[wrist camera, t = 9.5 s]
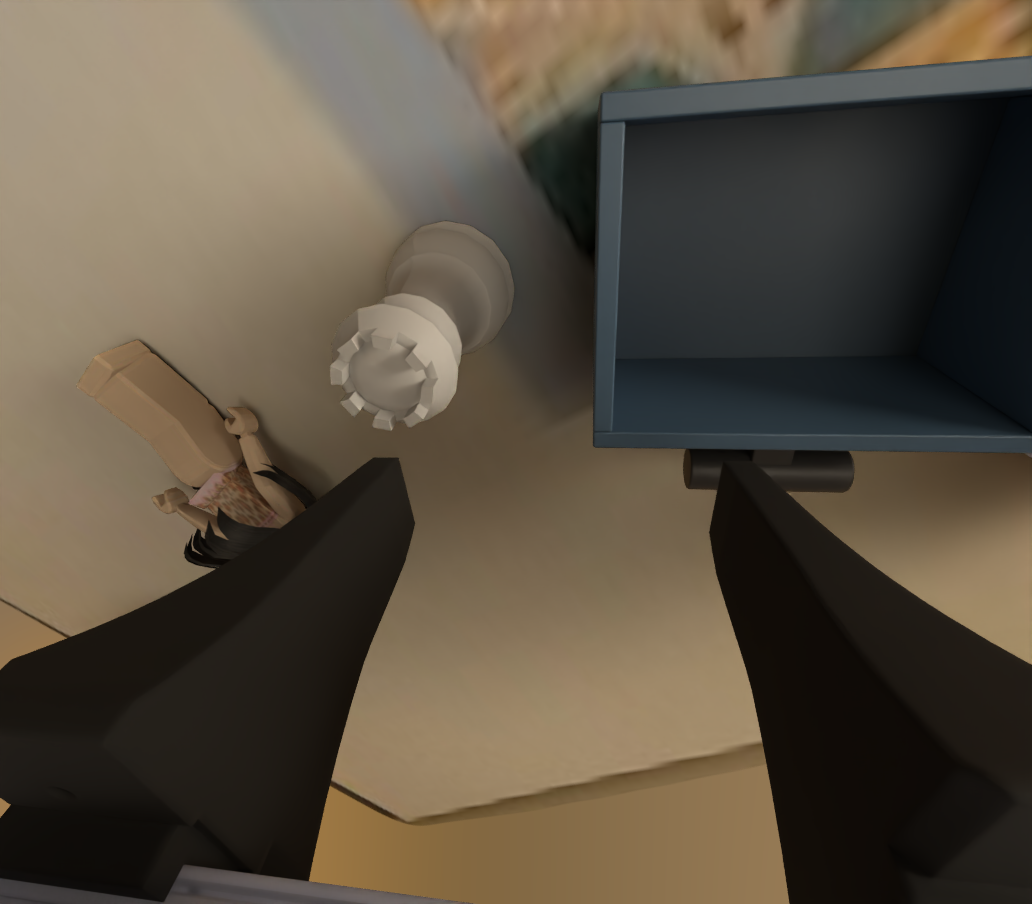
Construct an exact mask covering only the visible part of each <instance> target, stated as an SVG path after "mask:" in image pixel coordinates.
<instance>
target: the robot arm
mask: <svg viewBox="0 0 1032 904" xmlns="http://www.w3.org/2000/svg"><path fill="white" fill-rule="evenodd" d="M1025 454H1026V455H1028V456H1029V457H1030V458H1032V453H1025ZM414 526H415V521H414V517H413V513H412V509H411V505H410V501H409V497H408V493H407V489H406V485H405V481H404V477H403V473H402V469H401V465H400V461H399V458H372V459H371V460H370V461H368V462H367V463H365V464H364V465H363V466H361V467H360V468H359V469H357V470H356V471H355V472H354V473H352V474H351V475H350V476H348V477H347V478H346V479H345V480H343V481H342V482H341V483H340V484H338V485H337V486H336V487H335V488H333V489H332V490H331V491H329V492H328V493H327V494H326V495H324V496H323V497H322V498H320V499H319V500H318V501H317V502H315V503H314V504H313V505H311V506H310V507H309V508H307V509H306V510H305V511H303V512H302V513H301V514H299V515H298V516H296V517H295V518H294V519H292V520H291V521H289V522H288V523H287V524H285V525H284V526H282V527H281V528H280V529H278V530H277V531H275V532H274V533H273V534H271V535H270V536H268V537H267V538H265V539H264V540H262V541H261V542H259V543H258V544H256V545H255V546H253V547H252V548H250V549H249V550H247V551H245V552H244V553H242V554H240V555H239V556H237V557H235V558H234V559H232V560H230V561H229V562H227V563H225V564H224V565H222V566H220V567H219V568H217V569H215V570H213V571H211V572H210V573H208V574H206V575H204V576H202V577H200V578H198V579H196V580H194V581H192V582H191V583H189V584H187V585H185V586H183V587H181V588H179V589H177V590H175V591H173V592H172V593H170V594H168V595H166V596H164V597H162V598H160V599H158V600H155V601H153V602H151V603H149V604H147V605H145V606H143V607H140V608H138V609H136V610H134V611H132V612H130V613H127V614H125V615H123V616H120V617H118V618H116V619H114V620H111V621H109V622H107V623H104V624H102V625H100V626H97V627H95V628H92V629H90V630H88V631H85V632H83V633H80V634H77V635H75V636H72V637H70V638H67V639H64V640H62V641H59V642H57V643H54V644H52V645H49V646H46V647H44V648H41V649H38V650H36V651H33V652H31V653H28V654H25V655H22V656H19V657H17V658H14V659H12V660H11V661H9V662H8V663H7V664H6V665H5V666H4V667H3V668H2V669H1V670H0V798H2V799H3V800H5V801H6V802H7V803H9V804H11V805H10V807H9V808H8V809H7V810H6V812H5V813H4V814H3V815H2V816H1V818H0V904H473V903H465V902H458V901H450V900H443V899H436V898H428V897H421V896H413V895H406V894H399V893H391V892H384V891H376V890H369V889H361V888H353V887H347V886H339V885H332V884H324V883H317V882H310V881H309V877H310V872H311V867H312V862H313V857H314V852H315V848H316V843H317V839H318V834H319V830H320V825H321V820H322V816H323V811H324V807H325V802H326V798H327V794H328V790H329V786H330V782H331V778H332V774H333V770H334V766H335V762H336V758H337V754H338V750H339V747H340V743H341V739H342V736H343V732H344V728H345V725H346V721H347V718H348V714H349V710H350V707H351V703H352V700H353V697H354V693H355V690H356V687H357V683H358V680H359V677H360V674H361V670H362V667H363V664H364V661H365V658H366V656H367V653H368V650H369V648H370V645H371V642H372V640H373V638H374V635H375V633H376V631H377V628H378V626H379V623H380V621H381V619H382V616H383V614H384V611H385V609H386V607H387V604H388V602H389V600H390V597H391V595H392V592H393V590H394V588H395V585H396V583H397V580H398V578H399V575H400V573H401V571H402V568H403V565H404V563H405V560H406V556H407V553H408V549H409V546H410V542H411V538H412V534H413V530H414ZM709 534H710V540H711V546H712V553H713V558H714V564H715V569H716V574H717V578H718V581H719V584H720V588H721V591H722V594H723V597H724V601H725V604H726V607H727V610H728V613H729V616H730V620H731V623H732V626H733V629H734V632H735V635H736V639H737V642H738V645H739V648H740V651H741V654H742V658H743V661H744V664H745V667H746V670H747V674H748V678H749V682H750V685H751V689H752V693H753V698H754V703H755V708H756V713H757V717H758V722H759V727H760V732H761V737H762V742H763V747H764V753H765V758H766V763H767V769H768V774H769V779H770V784H771V790H772V796H773V802H774V808H775V813H776V820H777V825H778V831H779V837H780V843H781V849H782V855H783V862H784V869H785V876H786V882H787V888H788V896H789V903H790V904H1032V665H1031V664H1029V663H1027V662H1025V661H1024V660H1022V659H1020V658H1018V657H1016V656H1015V655H1013V654H1011V653H1009V652H1007V651H1006V650H1004V649H1002V648H1000V647H998V646H997V645H995V644H993V643H991V642H990V641H988V640H986V639H985V638H983V637H981V636H980V635H978V634H976V633H975V632H973V631H971V630H970V629H968V628H966V627H965V626H963V625H961V624H960V623H958V622H956V621H955V620H953V619H951V618H950V617H948V616H946V615H945V614H943V613H942V612H940V611H938V610H937V609H935V608H934V607H932V606H931V605H929V604H928V603H926V602H924V601H923V600H921V599H920V598H919V597H917V596H916V595H914V594H913V593H911V592H910V591H908V590H907V589H905V588H904V587H903V586H901V585H900V584H898V583H897V582H895V581H894V580H892V579H891V578H889V577H888V576H887V575H885V574H884V573H882V572H881V571H880V570H878V569H877V568H876V567H874V566H873V565H872V564H870V563H869V562H868V561H866V560H865V559H864V558H863V557H861V556H860V555H859V554H858V553H856V552H855V551H854V550H853V549H851V548H850V547H849V546H847V545H846V544H845V543H844V542H842V541H841V540H840V539H839V538H838V537H836V536H835V535H834V534H833V533H832V532H830V531H829V530H828V529H827V528H826V527H824V526H823V525H822V524H821V523H820V522H819V521H818V520H816V519H815V518H814V517H813V516H812V515H811V514H810V513H809V512H807V511H806V510H805V509H804V508H803V507H802V506H801V505H800V504H799V503H798V502H796V501H795V500H794V499H793V498H792V497H791V496H790V495H789V494H788V493H787V492H786V491H785V490H784V489H782V488H781V487H780V486H779V485H778V484H777V483H776V482H775V481H774V480H773V479H772V478H771V477H770V476H769V475H768V474H767V473H766V472H764V471H763V470H762V469H761V468H760V467H759V466H758V465H757V464H756V463H755V462H753V461H723V464H722V469H721V474H720V479H719V485H718V490H717V495H716V500H715V505H714V510H713V515H712V520H711V525H710V531H709Z"/></svg>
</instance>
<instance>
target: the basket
mask: <svg viewBox="0 0 1032 904" xmlns="http://www.w3.org/2000/svg"><path fill="white" fill-rule="evenodd" d="M593 446H594V447H595V448H671V449H686V451H685V454H684V462H683V475H684V482H685V486H686V488H688V489H709V490H718V485H719V479H720V474H721V469H722V464H723V461H753V462H755V463H756V464H757V465H758V466H759V467H760V468H761V469H762V470H763V471H764V472H766V473H767V474H768V475H769V476H770V477H771V478H772V479H773V480H774V481H775V482H776V483H777V484H778V485H779V486H780V487H781V488H782V489H784V490H785V491H792V492H834V493H843V492H846V491H848V490H849V489H850V487H851V485H852V483H853V480H854V462H853V458H852V456H851V454H850V453H849V451H899V452H975V453H1032V56H1023V57H1011V58H1000V59H988V60H976V61H964V62H952V63H940V64H928V65H917V66H905V67H893V68H881V69H869V70H857V71H845V72H834V73H822V74H810V75H798V76H786V77H774V78H762V79H751V80H739V81H727V82H715V83H703V84H691V85H679V86H668V87H656V88H644V89H632V90H620V91H608V92H603V93H601V95H600V100H599V106H598V118H597V171H596V224H595V278H594V331H593Z"/></svg>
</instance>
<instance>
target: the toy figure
mask: <svg viewBox="0 0 1032 904" xmlns="http://www.w3.org/2000/svg"><path fill="white" fill-rule="evenodd" d="M76 387H78V388H79V389H81V390H82V391H83V392H85V393H86V394H87V395H89V396H91V397H94V398H95V401H97V402H98V403H99V404H101V405H102V406H103V407H104V408H106V409H107V410H108V411H110V412H111V413H112V414H114V415H115V416H116V417H117V418H119V419H120V420H121V421H123V422H124V423H125V424H127V425H128V426H129V427H130V428H132V429H133V430H134V431H136V432H137V433H138V434H140V435H141V436H142V437H143V438H145V439H146V440H147V441H149V442H150V444H151V445H152V446H153V448H154V449H155V450H156V451H157V453H158V454H159V455H160V457H161V458H162V459H163V461H164V462H165V463H166V465H167V466H168V467H169V469H170V470H171V471H172V473H173V474H174V475H175V476H176V477H177V478H178V479H179V480H181V481H182V482H184V483H185V484H187V485H190V486H192V487H193V489H194V490H198V491H197V492H196V494H195V495H194V496H193V497H192V499H191V500H190V501H189V499H188V497H187V496H186V494H185V493H184V492H183V491H182V490H180V489H178V488H177V487H174V488H171V489H168V490H165V491H164V494H161V495H157V496H154V497H152V500H153V503H154V504H155V505H156V506H157V507H158V509H159V510H161V511H162V512H164V513H166V514H171V513H174V512H177V513H178V514H179V515H180V516H182V517H183V518H184V519H186V520H187V521H188V522H190V523H191V524H192V525H194V526H195V527H196V528H198V529H197V531H196V533H195V536H194V539H193V546H194V549H195V550H197V551H198V552H199V553H200V554H198V553H196V552H194V551H192V546H191V542H192V536H191V539H190V541H189V544H188V546H187V543H186V547H185V551H184V554H185V558H186V560H187V561H188V562H191V563H193V564H195V565H199V566H204V567H209V568H215V569H217V568H218V567H220V566H222V565H224V564H225V563H227V562H229V561H230V560H232V559H234V558H235V557H237V556H239V555H240V554H242V553H244V552H245V551H247V550H249V549H250V548H252V547H253V546H255V545H256V544H258V543H259V542H261V541H262V540H264V539H265V538H267V537H268V536H270V535H271V534H273V533H274V532H275V531H277V530H278V529H280V528H281V527H282V526H284V525H285V524H287V523H288V522H289V521H291V520H292V519H294V518H295V517H296V516H298V515H299V514H301V513H302V512H303V511H305V510H306V509H305V508H304V505H303V504H302V503H301V502H300V500H299V499H298V498H297V497H296V496H298V497H299V498H300V499H301V500H302V501H303V502H304V503H305V505H306V506H307V508H309V507H310V506H311V505H313V504H314V503H315V502H316V499H315V497H314V496H313V495H312V494H311V492H310V491H308V490H307V489H306V488H305V487H303V486H302V485H301V484H300V483H299V482H297V481H296V480H295V479H293V478H292V477H290V476H289V475H287V474H286V473H285V472H283V471H282V470H280V469H279V468H277V467H276V466H274V465H273V464H271V462H270V460H269V458H268V457H267V455H266V453H265V451H264V449H263V447H262V446H261V444H260V442H259V440H258V438H257V437H256V436H255V435H253V434H252V433H254V432H256V430H257V429H258V421H257V419H256V417H255V416H254V414H253V413H251V412H250V411H249V410H248V409H246V408H243V407H228V408H227V411H228V412H229V413H230V414H231V415H232V416H233V417H235V418H226V419H225V422H224V420H223V419H222V418H221V416H220V415H219V413H218V412H217V411H216V409H215V408H214V407H213V406H212V405H209V404H208V401H207V399H206V398H205V397H204V396H202V395H201V394H200V393H199V392H198V391H197V390H196V389H194V388H193V387H192V386H191V385H190V384H189V383H187V382H186V381H185V380H184V379H183V378H182V377H181V376H179V375H178V374H177V373H176V372H175V371H174V370H173V369H171V368H170V367H169V366H168V365H167V364H166V363H164V362H163V361H162V360H161V359H160V358H159V357H158V356H156V355H155V354H152V353H151V352H150V350H149V349H148V348H147V347H146V346H145V345H143V344H142V343H141V342H140V341H138V340H136V341H133V342H130V343H128V344H125V345H122V346H120V347H117V348H114V349H112V350H109V351H106V352H104V353H101V354H99V355H97V356H95V357H94V358H93V360H92V361H91V363H90V364H89V366H88V368H87V369H86V371H85V372H84V374H83V375H82V377H81V379H80V380H79V382H78V383H77V385H76ZM234 434H237V435H238V434H239V435H240V437H241V438H240V439H238V440H239V442H238V440H237V438H236V437H235V435H234ZM243 456H244V459H245V462H246V465H247V467H248V469H247V468H246V467H244V466H242V461H243ZM272 465H273V466H272ZM295 495H296V496H295ZM190 504H192V505H194V506H197V507H200V508H202V509H205V508H207V507H208V508H209V509H210V510H211V511H212V512H213V513H214V514H215V515H216V516H215V515H212V514H210V513H208V512H206V511H203V510H201V509H199V508H197V507H194V506H192V505H190ZM200 530H201V531H202V532H204V533H205V539H204V538H203V537H201V531H200ZM201 554H202V555H201ZM211 566H214V567H211Z"/></svg>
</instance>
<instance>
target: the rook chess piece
mask: <svg viewBox="0 0 1032 904" xmlns="http://www.w3.org/2000/svg"><path fill="white" fill-rule="evenodd" d="M514 290H515V287H514V283H513V279H512V274H511V270H510V266H509V263H508V261H507V260H506V258H505V257H504V255H503V254H502V253H501V251H500V250H499V248H498V247H497V245H496V244H495V242H494V241H493V240H491V239H490V238H488V237H487V236H485V235H484V234H482V233H481V232H479V231H478V230H476V229H475V228H474V227H472V226H469V225H464V224H459V223H454V222H449V221H442V222H438V223H434V224H430V225H426V226H422V227H420V228H419V229H418V230H417V231H415V232H414V233H413V234H412V235H411V236H410V237H408V238H407V239H406V240H405V241H404V242H403V243H402V245H401V247H399V248H398V249H397V250H396V252H395V254H394V256H393V259H392V261H391V263H390V265H389V268H388V270H387V273H386V297H384V298H383V299H381V300H380V301H379V302H378V303H376V304H375V305H374V306H369V307H364V308H360V309H357V310H356V311H355V312H353V313H352V314H351V315H350V316H348V317H347V318H346V319H345V320H343V321H342V322H341V323H340V324H339V327H338V329H337V332H336V334H335V336H334V339H333V341H332V344H331V345H332V361H333V364H332V365H331V366H330V376H331V385H342V387H343V389H344V391H345V392H346V393H347V394H346V396H345V397H344V398H343V399H342V400H341V402H340V403H341V404H342V405H343V406H344V408H345V409H346V410H347V411H348V412H349V413H350V414H351V415H352V416H353V417H355V416H356V414H357V413H358V412H359V411H360V410H361V408H362V409H363V410H365V411H367V412H369V413H371V414H372V415H374V416H375V417H374V421H373V425H372V427H374V428H379V429H384V430H389V431H391V430H392V429H393V427H394V425H395V424H396V422H400V423H405V424H407V426H408V427H409V428H411V427H412V426H414V425H415V424H417V423H419V422H420V421H426V420H429V419H430V418H432V417H433V416H435V415H437V414H438V413H440V412H442V411H443V410H445V409H446V407H447V405H448V404H449V402H450V401H451V399H452V397H453V396H454V394H455V393H456V387H457V377H458V366H459V364H460V360H461V355H463V354H469V353H473V352H475V351H476V350H478V349H480V348H481V347H483V346H484V345H486V344H487V343H489V342H490V341H492V340H493V339H494V338H495V336H496V335H497V333H498V332H499V330H500V329H501V327H502V326H503V324H504V322H505V321H506V319H507V318H508V316H509V315H510V313H511V309H512V303H513V297H514Z"/></svg>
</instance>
